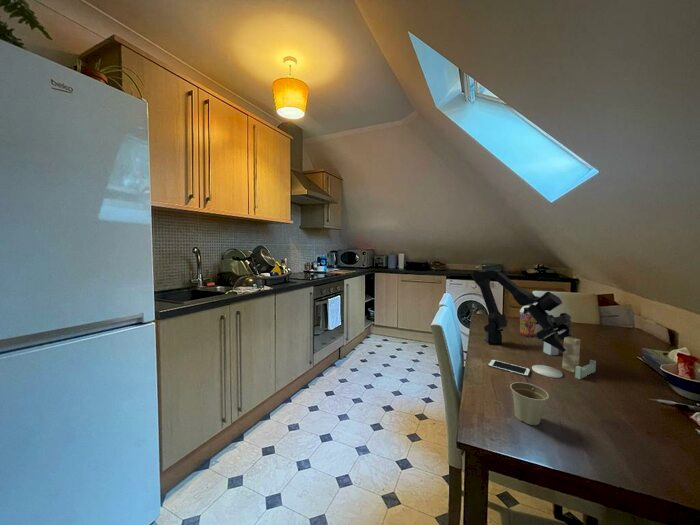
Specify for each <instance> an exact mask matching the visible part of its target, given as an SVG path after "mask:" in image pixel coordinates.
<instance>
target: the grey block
mask: <svg viewBox="0 0 700 525" xmlns="http://www.w3.org/2000/svg"><path fill="white" fill-rule="evenodd" d="M559 351H560V350H559V349H557V348H555V347H554V346H552V345H550V344H548V343H546V342H544V341H543V353H545V354H547V355H549V356H559Z"/></svg>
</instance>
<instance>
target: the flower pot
mask: <svg viewBox="0 0 700 525" xmlns="http://www.w3.org/2000/svg"><path fill="white" fill-rule="evenodd" d="M509 388H510V390H511V393H512V399H513V407H514V415H515V417H516V418H517V419H518V420H519V421H520V422H524V423H525V424H526V425H531V426H537V425H539V424H540V423H541V420H542V417H543V413H544V408H545V405H546V403H547V400H549V398H550V396H549V395H550V394H549V393H548V392H547V391H546V390H545V389H543V388H541V387H540V386H537V385H535V384H532V383H528V382H523V381H522V382H521V381H520V382H519V381H516V382H513V383H511V384H510V385H509Z"/></svg>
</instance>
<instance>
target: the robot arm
mask: <svg viewBox="0 0 700 525" xmlns="http://www.w3.org/2000/svg"><path fill="white" fill-rule="evenodd" d="M472 279H473V281H474V282H475V284H476V285H477V286H478V288H479V289H480V292H481V295H482V298H483V301H484V303H485V306H486V309H487V313H488V316H487V324H486V325H485V326H483V331H484V332H486V333H485V335H486V336H485V339H484V341H485V342H486V343H487V344H488V345H494V346H495V345H496V346H503V334H502V332H504V330H505V329H506V328H507V326H508V320H507V318H506V315H505V313H503V314H502V313H501V312H500V311H499V308H498V305H497V303H496V300H495V297H494V294H493V291H492V288H491V284H490V283H491V279H494V280H495V281H496V282H497V283H498V284H500V286H502V287H503V288H504V289H506V290H507V291H508V292H509V293H510V294H511V295H512V298H513V299H514V300H515V302H516V303H517V304H518V305H520V306H521V307H523V306H526V305H529V307H528V308H527V307H526V308H524V312H523V313H524V314H526V313H530V314H531V316H532V317H533V318H534V319H535V320H536V325H539V326H540V327H541V328H542V329H541V330H539V331H538V332H535V337H536V339H538V341H542V342H543V343H544V342H546V343H548V344H550V345H552V346H554V347H555V348H557V349H559V350H558V351H561V352H562V353H563V352H564V351H566V350H565V349H564V347H563V346H564V345H563V344H562V343H561V341H560V340H559V339H561V340H562V341H563V342H564V338H565V337H572V334H571V332H572V331H573V326H572V325H571V324H570V323H572V320H571V319H572V316H571V315H570V314H568V313H567V312H563V313H562V312H561V313H559V316H554V315H552V314H549V313H548V312H551V311H553V310H555V308H558V307H559V306H560V305H562V304H563V301H562V299H561V298H560V297H559V296H557V295H555V294H554V293H552V292H551V291H546V292H544V294H543V295H541V296H536V295H535V294H534V293H533V292H531V291H529V290H526V289H524V288H522V287H520V286H519V285H517V284H516V283H515V282H513V281H512V280H511V279H510V278H509V277H507V276H506V275H505V274H504V273H503V272H502V271H501V270H499V269H496V270H495V269H494V270H489V271H488V270H485V269H483V270H481V269H480V270H475V271H474V272H472ZM558 338H559V339H558Z"/></svg>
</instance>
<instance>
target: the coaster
mask: <svg viewBox="0 0 700 525" xmlns="http://www.w3.org/2000/svg"><path fill="white" fill-rule="evenodd" d="M531 370H532V371H533V372H534V373H535V374H538V375H541V376H543V377H546V378H551V379H552V378H553V379H560V378H562V377H563V375H564V374H563V371H561V370H559V369H557V368H555V367H552V366H548V365H543V364H535V365H532V366H531Z"/></svg>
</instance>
